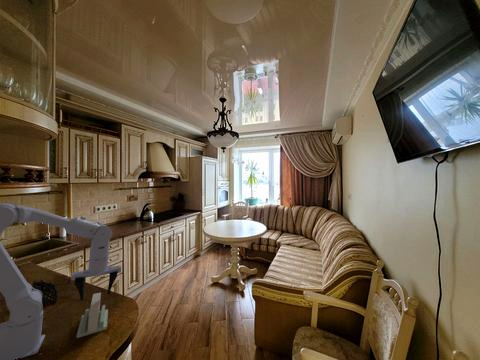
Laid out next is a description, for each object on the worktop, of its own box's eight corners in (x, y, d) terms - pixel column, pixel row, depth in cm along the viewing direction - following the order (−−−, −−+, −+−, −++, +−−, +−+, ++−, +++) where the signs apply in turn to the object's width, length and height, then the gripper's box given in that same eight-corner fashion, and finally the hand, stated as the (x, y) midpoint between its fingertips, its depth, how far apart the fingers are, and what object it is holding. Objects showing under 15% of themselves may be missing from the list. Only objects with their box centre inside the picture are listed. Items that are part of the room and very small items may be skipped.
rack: (76, 338, 61) (77, 328, 61) (81, 318, 70) (82, 310, 70) (106, 329, 65) (107, 320, 66) (107, 311, 75) (108, 303, 75)
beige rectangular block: (91, 313, 72) (93, 294, 72) (99, 311, 73) (101, 292, 74) (87, 333, 62) (89, 311, 62) (96, 330, 63) (98, 308, 64)
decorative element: (60, 302, 80) (61, 288, 80) (43, 308, 75) (45, 293, 76) (42, 287, 91) (43, 275, 91) (26, 292, 87) (28, 278, 87)
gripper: (70, 264, 62) (66, 307, 62) (122, 258, 70) (119, 296, 69) (75, 258, 68) (71, 297, 67) (122, 252, 76) (119, 287, 75)
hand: (95, 296), depth 69 cm, fingers open, 7 cm apart
